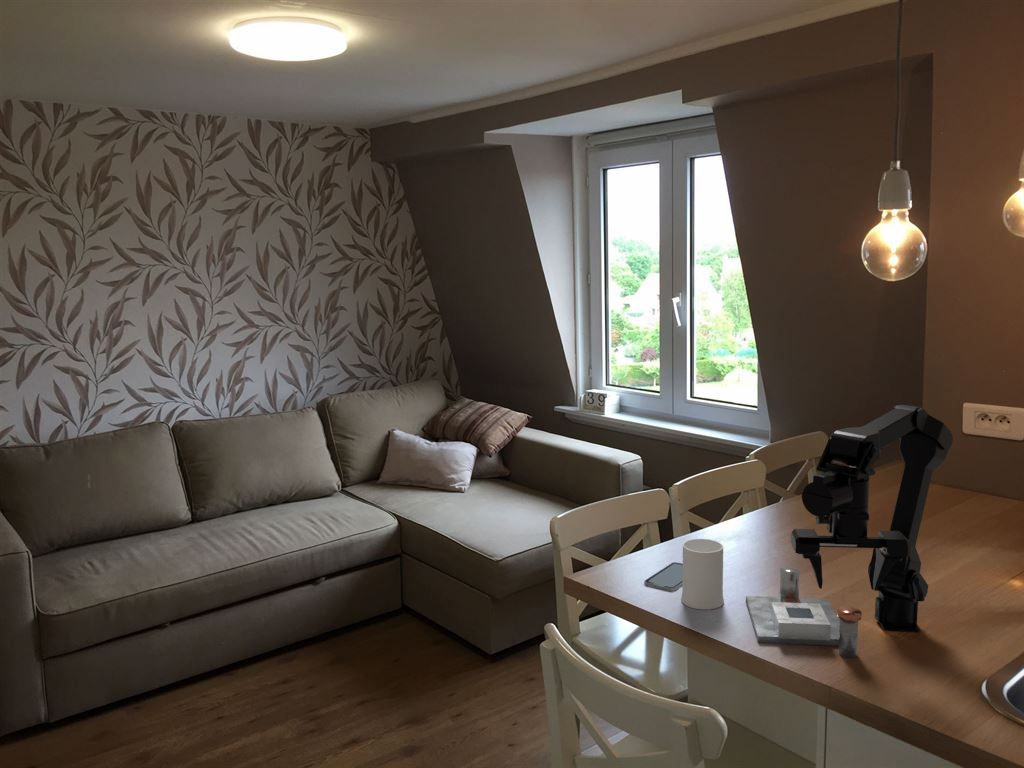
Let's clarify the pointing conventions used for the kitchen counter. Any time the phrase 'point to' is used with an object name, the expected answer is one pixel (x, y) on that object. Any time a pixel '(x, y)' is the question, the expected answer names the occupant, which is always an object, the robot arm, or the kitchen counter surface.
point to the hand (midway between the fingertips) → (847, 588)
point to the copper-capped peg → (848, 630)
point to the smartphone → (667, 578)
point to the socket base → (793, 615)
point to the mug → (702, 574)
